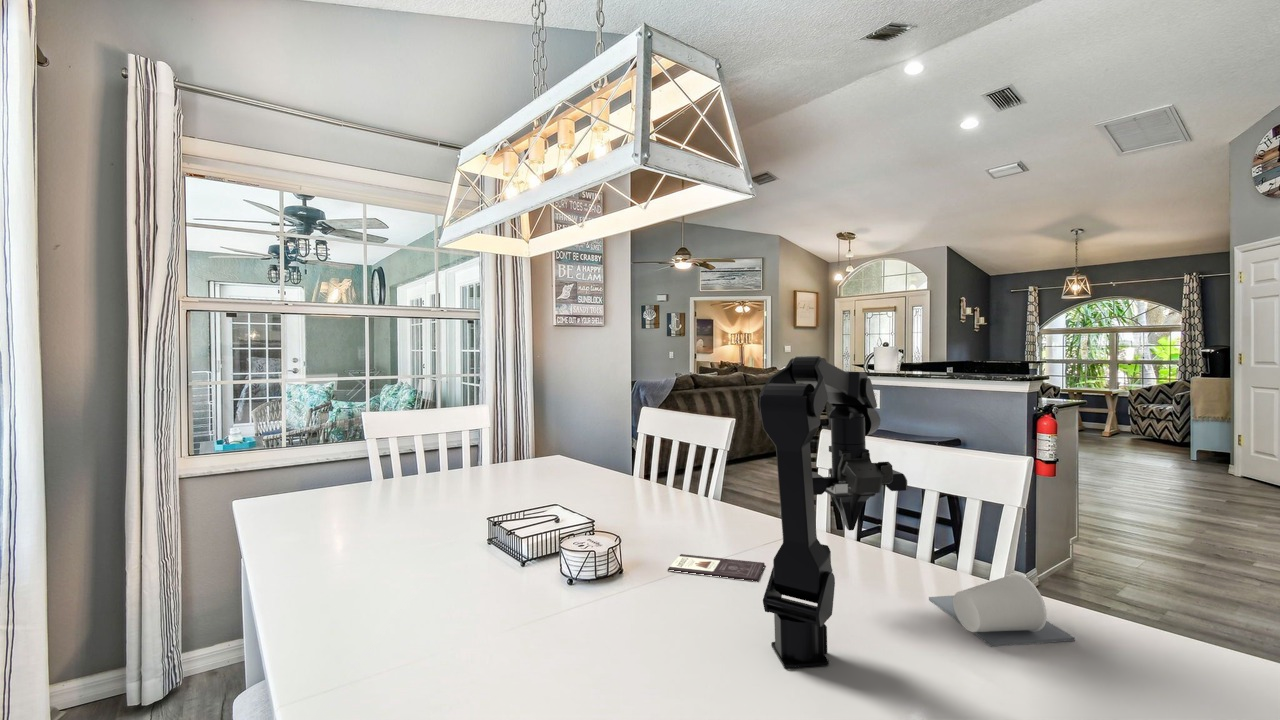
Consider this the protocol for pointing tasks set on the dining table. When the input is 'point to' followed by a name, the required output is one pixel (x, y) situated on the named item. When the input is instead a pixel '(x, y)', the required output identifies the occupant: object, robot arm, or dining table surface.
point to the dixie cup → (1001, 606)
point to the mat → (1008, 637)
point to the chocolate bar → (718, 567)
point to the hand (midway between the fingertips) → (850, 529)
